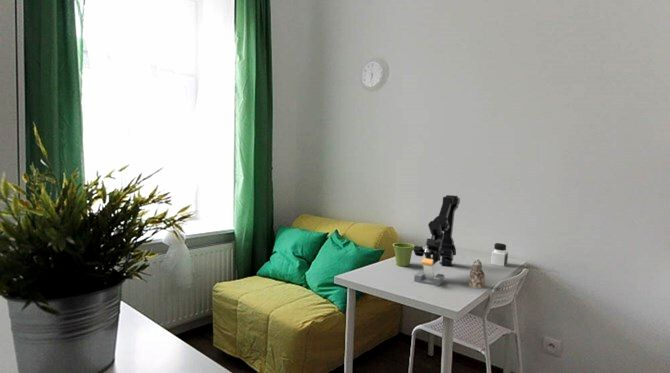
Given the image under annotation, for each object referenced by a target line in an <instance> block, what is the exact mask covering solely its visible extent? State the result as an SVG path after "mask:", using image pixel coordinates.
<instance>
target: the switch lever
mask: <svg viewBox="0 0 670 373" xmlns="http://www.w3.org/2000/svg"><path fill="white" fill-rule="evenodd" d="M433 263H434V262H433V259H427V258H426V257H423V258H422V260H421V266H422V268H423V271H424V273H425V277H427V278H432V279H433V278H434V277H435V272H434V270H435V269H434V265H433Z"/></svg>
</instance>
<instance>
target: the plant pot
mask: <svg viewBox="0 0 670 373" xmlns="http://www.w3.org/2000/svg"><path fill="white" fill-rule="evenodd" d="M392 246H393V250H394V257H395V262H396V263H395V264H396V265H397V266H398V267H409V266H410V264H411V259H412V253H413V251H414V250H413V249H414V247H415V245H414V244H413V243H408V242H407V243H406V242H394V243H392Z"/></svg>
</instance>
